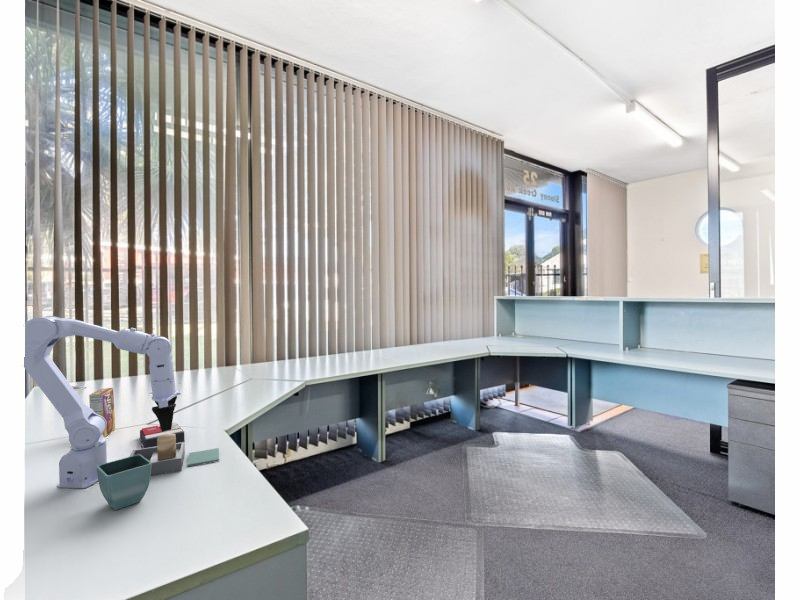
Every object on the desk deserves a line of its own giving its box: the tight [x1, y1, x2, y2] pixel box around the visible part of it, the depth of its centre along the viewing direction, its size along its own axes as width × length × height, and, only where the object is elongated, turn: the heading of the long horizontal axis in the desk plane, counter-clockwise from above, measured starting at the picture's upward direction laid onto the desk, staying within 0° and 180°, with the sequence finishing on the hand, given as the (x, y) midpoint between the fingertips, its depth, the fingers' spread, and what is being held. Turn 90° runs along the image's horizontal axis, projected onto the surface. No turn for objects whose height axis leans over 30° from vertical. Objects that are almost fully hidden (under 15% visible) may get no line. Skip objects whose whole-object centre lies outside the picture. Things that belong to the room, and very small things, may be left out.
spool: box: [157, 434, 176, 461], centre depth 108 cm, size 4×4×6 cm
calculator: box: [139, 421, 185, 448], centre depth 127 cm, size 11×4×15 cm
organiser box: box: [129, 442, 186, 478], centre depth 107 cm, size 13×13×4 cm
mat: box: [186, 447, 220, 468], centre depth 112 cm, size 8×9×1 cm
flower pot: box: [96, 454, 152, 511], centre depth 88 cm, size 9×9×9 cm
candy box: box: [88, 387, 116, 438], centre depth 133 cm, size 9×4×15 cm, turn 17°
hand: (167, 426), depth 109 cm, fingers open, 7 cm apart
